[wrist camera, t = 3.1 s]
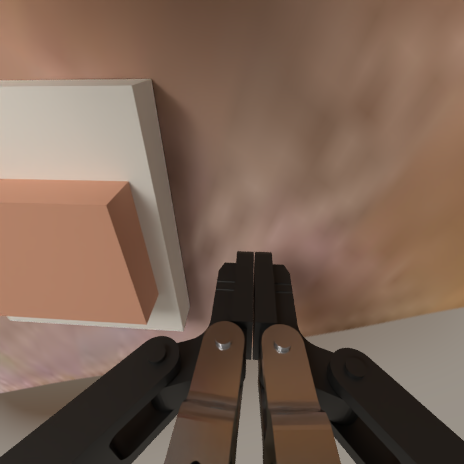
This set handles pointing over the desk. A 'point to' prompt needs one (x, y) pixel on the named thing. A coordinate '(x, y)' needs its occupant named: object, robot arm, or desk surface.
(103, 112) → the desk riser
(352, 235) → the desk surface
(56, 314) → the terracotta notepad
